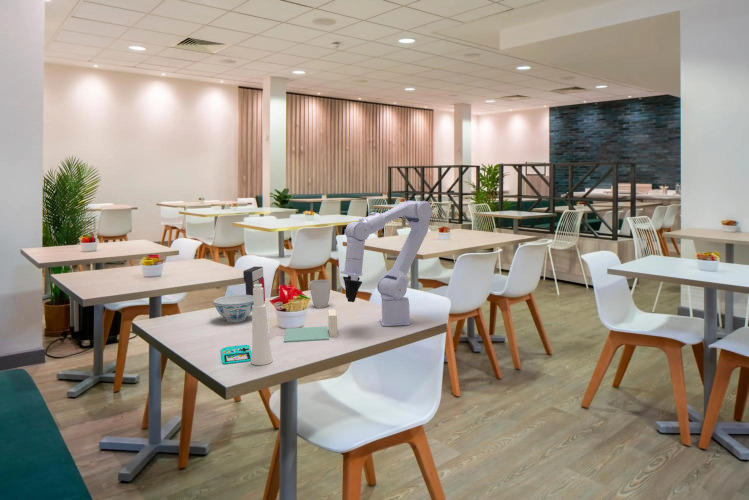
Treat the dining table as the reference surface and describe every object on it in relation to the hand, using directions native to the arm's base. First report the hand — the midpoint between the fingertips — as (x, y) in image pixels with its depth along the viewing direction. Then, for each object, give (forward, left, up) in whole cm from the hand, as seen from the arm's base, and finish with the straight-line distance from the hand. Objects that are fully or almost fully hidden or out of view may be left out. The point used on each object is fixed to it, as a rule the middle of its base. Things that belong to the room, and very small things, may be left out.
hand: (350, 299), depth 178 cm
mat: (+15, 0, -11) cm, 18 cm away
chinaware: (+40, -24, -11) cm, 48 cm away
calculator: (+35, -46, -11) cm, 59 cm away
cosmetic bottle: (+27, +24, -11) cm, 38 cm away
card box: (+6, 0, -11) cm, 12 cm away
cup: (+9, -38, -11) cm, 40 cm away
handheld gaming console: (+35, +17, -11) cm, 40 cm away
